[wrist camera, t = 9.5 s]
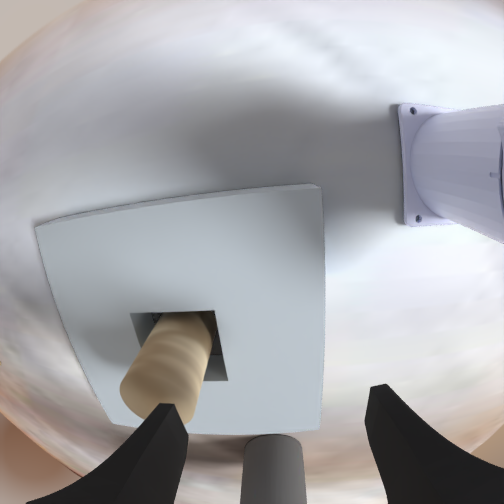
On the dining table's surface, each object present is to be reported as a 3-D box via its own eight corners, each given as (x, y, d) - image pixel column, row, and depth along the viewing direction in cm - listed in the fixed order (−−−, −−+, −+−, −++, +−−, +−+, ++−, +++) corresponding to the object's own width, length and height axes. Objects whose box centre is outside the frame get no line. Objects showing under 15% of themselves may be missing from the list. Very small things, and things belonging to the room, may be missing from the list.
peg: (212, 297, 20) (184, 376, 12) (220, 345, 21) (201, 429, 13) (157, 299, 20) (109, 370, 12) (169, 345, 21) (133, 422, 13)
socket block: (312, 183, 17) (321, 187, 14) (315, 403, 22) (319, 429, 19) (59, 217, 18) (34, 227, 15) (123, 402, 24) (112, 423, 21)
